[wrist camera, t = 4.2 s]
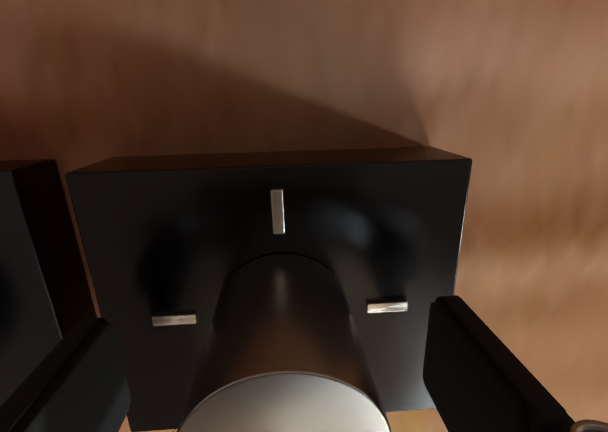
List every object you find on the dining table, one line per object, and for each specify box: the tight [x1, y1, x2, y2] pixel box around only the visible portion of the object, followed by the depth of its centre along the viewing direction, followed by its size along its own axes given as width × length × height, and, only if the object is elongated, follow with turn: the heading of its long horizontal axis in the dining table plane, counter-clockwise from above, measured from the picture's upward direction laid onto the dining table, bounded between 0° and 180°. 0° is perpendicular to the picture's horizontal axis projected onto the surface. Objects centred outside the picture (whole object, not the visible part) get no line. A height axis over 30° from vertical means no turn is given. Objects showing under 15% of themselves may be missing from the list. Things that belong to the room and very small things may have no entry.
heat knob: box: [177, 254, 391, 432], centre depth 9 cm, size 4×4×5 cm
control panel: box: [65, 146, 472, 432], centre depth 13 cm, size 12×10×3 cm
